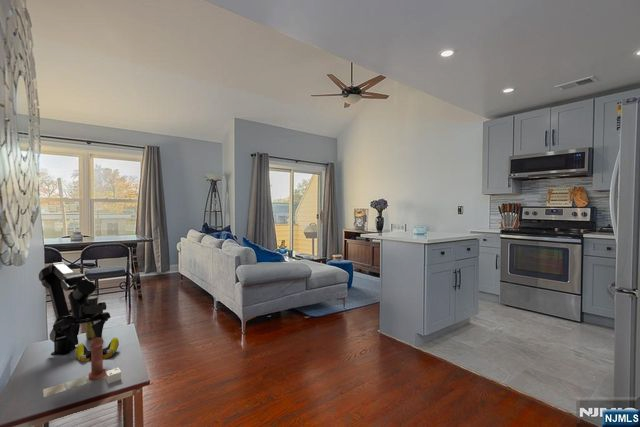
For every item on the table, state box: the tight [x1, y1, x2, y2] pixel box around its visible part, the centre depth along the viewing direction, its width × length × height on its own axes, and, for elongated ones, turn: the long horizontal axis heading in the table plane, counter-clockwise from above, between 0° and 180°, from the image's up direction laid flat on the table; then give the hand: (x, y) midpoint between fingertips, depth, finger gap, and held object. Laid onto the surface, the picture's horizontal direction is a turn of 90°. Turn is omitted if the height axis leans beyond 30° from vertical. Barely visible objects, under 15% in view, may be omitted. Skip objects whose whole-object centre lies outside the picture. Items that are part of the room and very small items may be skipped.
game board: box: [42, 375, 106, 398], centre depth 110 cm, size 19×12×1 cm, turn 135°
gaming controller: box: [75, 337, 120, 362], centre depth 128 cm, size 15×6×10 cm
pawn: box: [87, 337, 107, 381], centre depth 112 cm, size 5×5×15 cm
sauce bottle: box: [84, 295, 99, 341], centre depth 144 cm, size 6×6×20 cm
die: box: [105, 367, 122, 385], centre depth 111 cm, size 4×4×4 cm
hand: (88, 341), depth 117 cm, fingers open, 9 cm apart
